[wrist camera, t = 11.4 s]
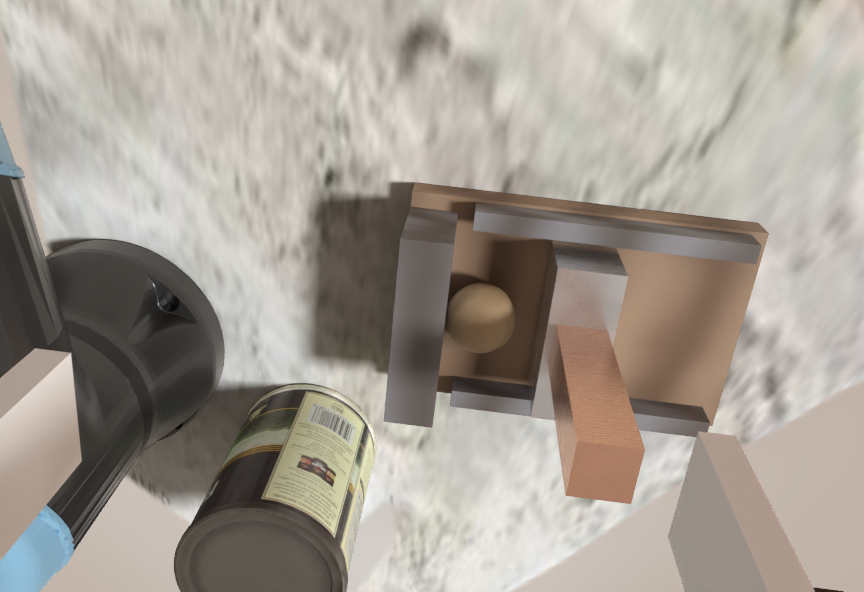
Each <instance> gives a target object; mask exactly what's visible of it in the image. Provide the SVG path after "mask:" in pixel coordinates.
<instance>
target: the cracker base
mask: <svg viewBox="0 0 864 592" xmlns="http://www.w3.org/2000/svg"><path fill="white" fill-rule="evenodd" d="M768 234H769V233H768V232H767V231H766V230H765V229H764V228H763V227H762V226H761V225H760V224H759V223H753V222H744V221H736V220H727V219H719V218H710V217H702V216H693V215H685V214H677V213H668V212H660V211H651V210H643V209H634V208H626V207H617V206H609V205H601V204H592V203H584V202H575V201H567V200H558V199H550V198H541V197H533V196H525V195H516V194H508V193H499V192H491V191H482V190H474V189H465V188H457V187H449V186H440V185H432V184H423V183H415V184H414V187H413V190H412V197H411V207H410V210H409V213H408V216H407V219H406V222H405V225H404V228H403V231H402V234H401V237H400V246H399V257H398V268H397V279H396V291H395V302H394V313H393V324H392V335H391V346H390V357H389V368H388V380H387V391H386V402H385V413H384V422H392V423H400V424H408V425H416V426H424V427H432V424H433V417H434V409H435V401H436V393H437V392H444V393H451V401H450V406H452V407H460V408H468V409H476V410H484V411H492V412H500V413H508V414H516V415H524V416H531V411H530V399H529V387H528V376H529V370H530V364H531V358H532V353H533V347H534V341H535V336H536V330H537V324H538V318H539V313H540V307H541V301H542V295H543V290H544V284H545V278H546V272H547V267H548V261H549V255H550V250H551V244H552V240H553V241H561V242H570V243H578V244H586V245H595V246H603V247H612V248H616V249H617V251H618V253H619V256H620V258H621V260H622V263H623V265H624V267H625V270H626V272H627V274H628V281H627V285H626V290H625V294H624V299H623V303H622V308H621V312H620V317H619V321H618V326H617V330H616V335H615V339H614V344H613V349H614V352H615V356H616V359H617V362H618V365H619V368H620V372H621V375H622V378H623V381H624V384H625V388H626V391H627V394H628V397H629V401H630V404H631V407H632V410H633V413H634V417H635V420H636V423H637V426H638V429H639V430H644V431H652V432H660V433H668V434H676V435H684V436H692V437H697V434H698V431H700V432H708V428H709V426H712V425H713V421H714V418H715V415H716V411H717V408H718V404H719V401H720V398H721V394H722V391H723V387H724V384H725V381H726V377H727V374H728V370H729V367H730V364H731V360H732V357H733V353H734V350H735V347H736V343H737V340H738V336H739V333H740V330H741V326H742V323H743V319H744V316H745V313H746V309H747V306H748V302H749V299H750V296H751V292H752V289H753V285H754V282H755V279H756V275H757V272H758V268H759V265H760V262H761V258H762V255H763V251H764V248H765V245H766V241H767V238H768Z"/></svg>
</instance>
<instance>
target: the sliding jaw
mask: <svg viewBox="0 0 864 592" xmlns="http://www.w3.org/2000/svg"><path fill="white" fill-rule="evenodd" d="M627 281H628V274H627V272H626V270H625V267H624V265H623V263H622V260H621V258H620V256H619V253H618V251H617V249H616V248H612V247H603V246H595V245H586V244H578V243H570V242H561V241H553V240H552V244H551V250H550V255H549V261H548V267H547V272H546V278H545V284H544V290H543V295H542V301H541V307H540V313H539V318H538V324H537V330H536V336H535V341H534V347H533V353H532V358H531V364H530V370H529V376H528V387H529V399H530V411H531V417H534V418H542V419H550V420H555V422H556V429H557V436H558V444H559V451H560V458H561V465H562V473H563V480H564V487H565V494H566V496H573V497H581V498H589V499H596V500H604V501H612V502H620V503H628V504H631V502H632V498H633V494H634V490H635V486H636V482H637V478H638V474H639V470H640V466H641V462H642V459H643V455H644V451H645V449H644V445H643V442H642V439H641V436H640V433H639V429H638V426H637V423H636V420H635V417H634V413H633V410H632V407H631V404H630V401H629V397H628V394H627V391H626V388H625V384H624V381H623V378H622V375H621V372H620V368H619V365H618V362H617V359H616V356H615V352H614V349H613V344H614V339H615V335H616V330H617V326H618V321H619V317H620V312H621V308H622V303H623V299H624V294H625V290H626V285H627Z"/></svg>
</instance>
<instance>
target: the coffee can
mask: <svg viewBox="0 0 864 592" xmlns="http://www.w3.org/2000/svg"><path fill="white" fill-rule="evenodd" d="M376 451H377V447H376V438H375V434H374V430H373V428H372V425H371V423H370V421H369V420H368V418H367V417H366V415H365V414H364V413H363V411H362V410H361V409H360V408H359V407H358V406H357V405H356V404H354V403H353V402H352V401H351V400H349V399H348V398H347V397H345V396H343V395H341V394H340V393H338V392H336V391H333V390H331V389H328V388H325V387H321V386H315V385H309V384H305V385H299V384H297V385H289V386H284V387H281V388H278V389H275V390H273V391H271V392H269V393H267V394H266V395H264V396H263V397H261V398H260V399H259V400H258V401H257V402H256V403H255V404H254V405H253V406H252V408H251V409H250V411H249V413H248V414H247V417H246V419H245V422H244V424H243V426H242V428H241V430H240V432H239V434H238V436H237V438H236V440H235V442H234V444H233V446H232V448H231V450H230V452H229V454H228V456H227V458H226V460H225V461H224V463H223V465H222V467H221V469H220V471H219V473H218V474H217V476H216V478H215V480H214V482H213V484H212V486H211V488H210V490H209V491H208V493H207V495H206V497H205V499H204V501H203V503H202V504H201V506H200V508H199V510H198V512H197V514H196V516H195V518H194V520H193V522H192V524H191V525H190V526H189V527H188V529H187V530H186V531H185V533H184V534H183V536H182V538H181V540H180V542H179V543H178V546H177V548H176V552H175V557H174V572H175V577H176V581H177V585H178V587H179V589H180V591H181V592H346V590H347V583H348V576H347V575H348V571H349V566H350V562H351V557H352V553H353V548H354V544H355V540H356V535H357V531H358V526H359V522H360V517H361V513H362V509H363V504H364V500H365V495H366V491H367V487H368V482H369V478H370V473H371V469H372V466H373V464H374V461H375V456H376Z"/></svg>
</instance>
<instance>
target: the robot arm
mask: <svg viewBox="0 0 864 592" xmlns="http://www.w3.org/2000/svg"><path fill="white" fill-rule="evenodd" d="M24 177H25V176H24V172H23V170H22V169H21V168H20V167H19V166H17V165H16V163H15V161H14V158H13V156H12V153H11V150H10V147H9V145H8V142H7V139H6V136H5V134H4V131H3V128H2V125H1V123H0V592H40V591H41V590H42V588H43V587H44V586H45V585H46V583H47V582H48V581H49V580H50V579H51V577H52V576H53V575H54V574H55V573H57V572H58V571H59V570H61V569H62V567H63V566H64V565H66V564H67V563H68V562H69V560H70V558H71V556H72V554H73V552H74V550H75V549H76V547H77V546H78V544H79V543H80V541H81V540H82V538H83V537H84V535H85V534H86V532H87V531H88V530H89V528H90V527H91V525H92V524H93V522H94V521H95V519H96V518H97V516H98V515H99V513H100V512H101V510H102V509H103V507H104V506H105V504H106V503H107V502H108V500H109V499H110V497H111V496H112V494H113V493H114V491H115V490H116V488H117V487H118V485H119V484H120V482H121V481H122V479H123V478H124V476H125V475H126V474H127V472H128V471H129V469H130V468H131V466H132V465H133V463H134V462H135V460H136V459H137V457H138V456H139V455H140V453H141V452H143V451H144V450H146V449H148V448H149V447H151V446H152V445H153V444H154V443H155V442H156V441H159V440H162V439H164V438H166V437H168V436H170V435H172V434H174V433H176V432H178V431H179V430H181V429H182V428H184V427H185V426H186V425H188V424H189V423H190V422H191V421H192V420H193V419H194V418H195V417H196V416H197V415H198V414H199V413H200V411H201V410H202V409H203V407H204V406H205V404H206V403H207V401H208V400H209V398H210V397H211V395H212V394H213V392H214V390H215V389H216V387H217V385H218V382H219V380H220V377H221V374H222V370H223V365H224V340H223V335H222V330H221V327H220V324H219V321H218V318H217V316H216V314H215V312H214V309H213V308H212V306H211V304H210V302H209V301H208V299H207V298H206V296H205V295H204V293H203V292H202V291H201V289H200V288H199V287H198V286H197V285H196V283H195V282H194V281H193V280H192V279H191V278H190V277H189V276H188V275H187V274H185V273H184V272H183V271H182V270H181V269H179V268H178V267H177V266H176V265H174V264H173V263H171V262H170V261H168V260H167V259H165V258H163V257H162V256H160V255H158V254H156V253H154V252H152V251H150V250H147V249H145V248H142V247H139V246H136V245H133V244H129V243H125V242H120V241H112V240H89V241H82V242H77V243H73V244H70V245H67V246H65V247H62V248H60V249H58V250H56V251H54V252H52V253H51V254H49V255H48V256H46V257H45V254H44V251H43V248H42V244H41V241H40V238H39V235H38V231H37V228H36V224H35V221H34V218H33V215H32V211H31V208H30V205H29V201H28V198H27V195H26V191H25V188H24V185H23V181H22V178H24ZM668 538H669V541H670V544H671V548H672V551H673V554H674V557H675V561H676V564H677V567H678V570H679V574H680V577H681V580H682V584H683V587H684V590H685V592H843V591H836V590H828V589H821V588H813V587H812V585H811V583H810V581H809V579H808V577H807V575H806V573H805V571H804V569H803V567H802V565H801V563H800V561H799V559H798V557H797V555H796V553H795V551H794V549H793V547H792V545H791V544H790V542H789V540H788V538H787V536H786V534H785V532H784V530H783V528H782V526H781V524H780V522H779V520H778V518H777V516H776V514H775V512H774V510H773V508H772V506H771V504H770V503H769V500H768V498H767V496H766V495H765V493H764V491H763V489H762V487H761V485H760V483H759V481H758V479H757V477H756V475H755V473H754V471H753V469H752V467H751V465H750V463H749V461H748V459H747V457H746V455H745V453H744V451H743V449H742V447H741V446H740V444H739V442H738V440H737V438H736V436H732V435H724V434H716V433H708V432H700V431H698V434H697V437H696V441H695V444H694V448H693V451H692V455H691V458H690V462H689V465H688V469H687V472H686V476H685V479H684V483H683V487H682V490H681V493H680V497H679V500H678V504H677V507H676V511H675V514H674V518H673V521H672V525H671V528H670V532H669V535H668Z"/></svg>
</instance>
